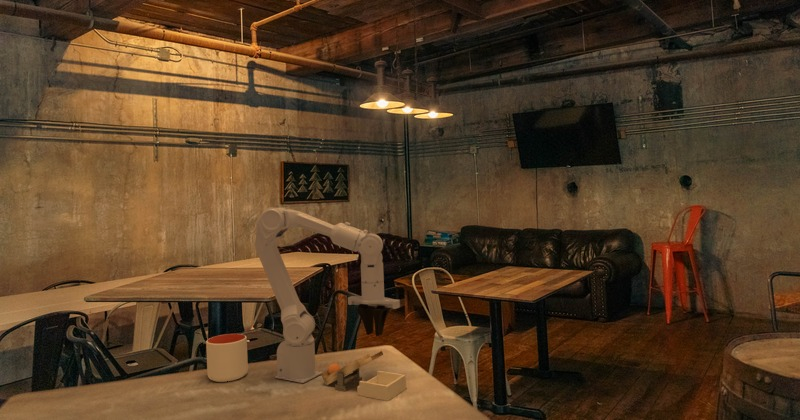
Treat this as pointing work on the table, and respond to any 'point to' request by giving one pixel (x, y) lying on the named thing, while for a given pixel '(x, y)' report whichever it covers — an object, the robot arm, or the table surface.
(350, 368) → the catapult lever
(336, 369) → the ball
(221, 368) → the cup
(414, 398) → the table surface
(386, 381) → the tray
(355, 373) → the pivot bracket
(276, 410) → the table surface
